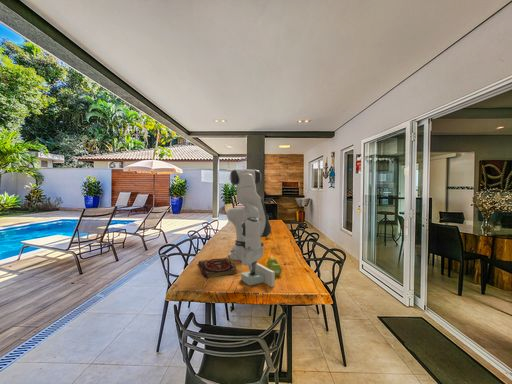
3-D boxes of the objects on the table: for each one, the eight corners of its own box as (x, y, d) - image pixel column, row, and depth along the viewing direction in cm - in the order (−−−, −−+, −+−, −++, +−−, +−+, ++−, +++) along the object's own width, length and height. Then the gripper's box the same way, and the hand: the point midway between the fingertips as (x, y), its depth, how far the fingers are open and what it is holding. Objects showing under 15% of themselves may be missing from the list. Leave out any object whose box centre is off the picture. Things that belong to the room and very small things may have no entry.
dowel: (249, 274, 146) (249, 262, 146) (251, 273, 149) (251, 261, 149) (253, 275, 145) (253, 263, 145) (256, 273, 148) (256, 262, 148)
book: (198, 265, 179) (198, 258, 179) (227, 261, 187) (227, 255, 186) (204, 279, 153) (204, 271, 153) (238, 274, 160) (238, 266, 160)
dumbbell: (266, 268, 172) (266, 257, 171) (277, 268, 172) (277, 257, 172) (270, 277, 155) (270, 265, 155) (282, 276, 156) (282, 265, 156)
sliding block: (241, 279, 149) (241, 273, 149) (255, 276, 154) (255, 270, 154) (249, 285, 141) (249, 278, 140) (264, 282, 146) (264, 275, 146)
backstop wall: (250, 273, 160) (250, 261, 160) (253, 273, 161) (253, 260, 161) (271, 286, 140) (271, 272, 140) (274, 286, 141) (274, 271, 141)
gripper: (248, 249, 136) (248, 275, 136) (265, 242, 154) (264, 265, 155) (238, 248, 139) (238, 273, 139) (256, 241, 157) (255, 263, 157)
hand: (252, 268), depth 147 cm, fingers closed on dowel, 3 cm apart
